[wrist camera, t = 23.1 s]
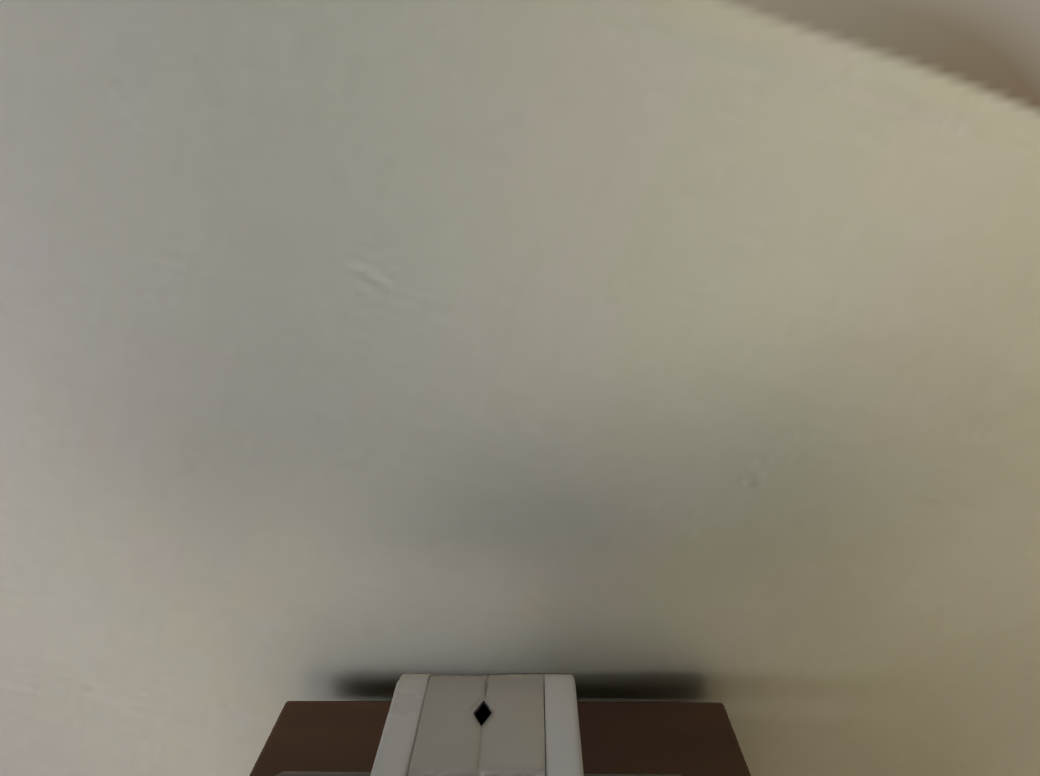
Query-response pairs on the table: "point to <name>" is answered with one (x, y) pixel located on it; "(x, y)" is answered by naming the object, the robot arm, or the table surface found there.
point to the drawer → (603, 728)
